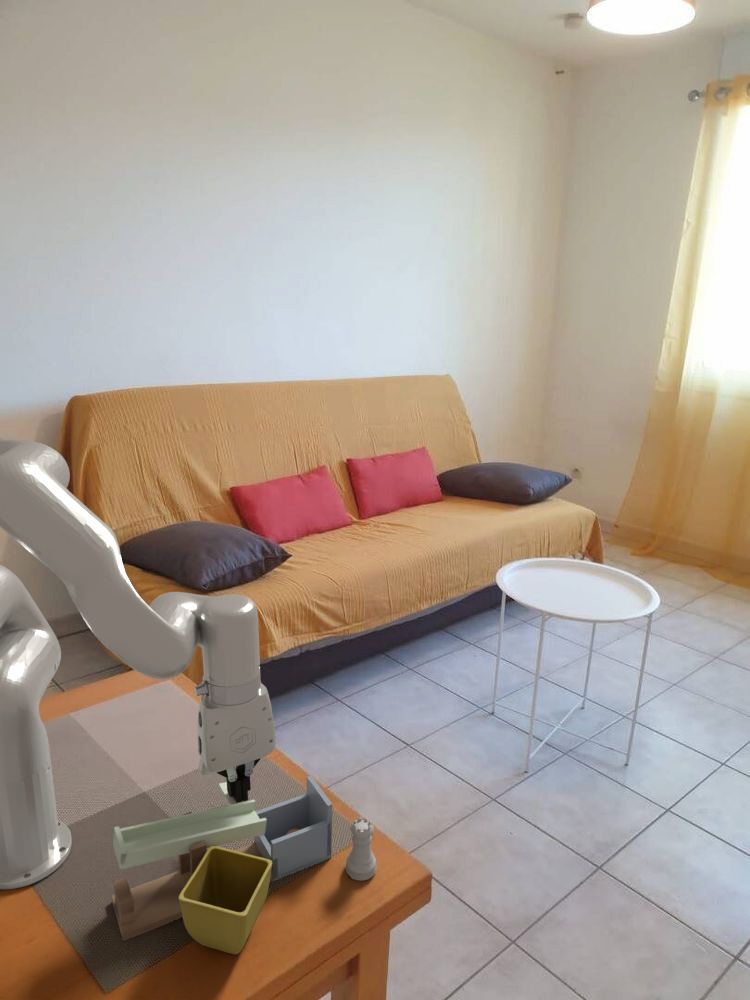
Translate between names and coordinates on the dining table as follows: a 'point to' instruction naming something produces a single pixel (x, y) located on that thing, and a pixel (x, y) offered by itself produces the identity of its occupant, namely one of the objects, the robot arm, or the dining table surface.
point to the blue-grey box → (304, 844)
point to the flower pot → (225, 898)
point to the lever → (187, 832)
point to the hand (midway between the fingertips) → (239, 796)
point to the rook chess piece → (361, 851)
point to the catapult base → (159, 894)
